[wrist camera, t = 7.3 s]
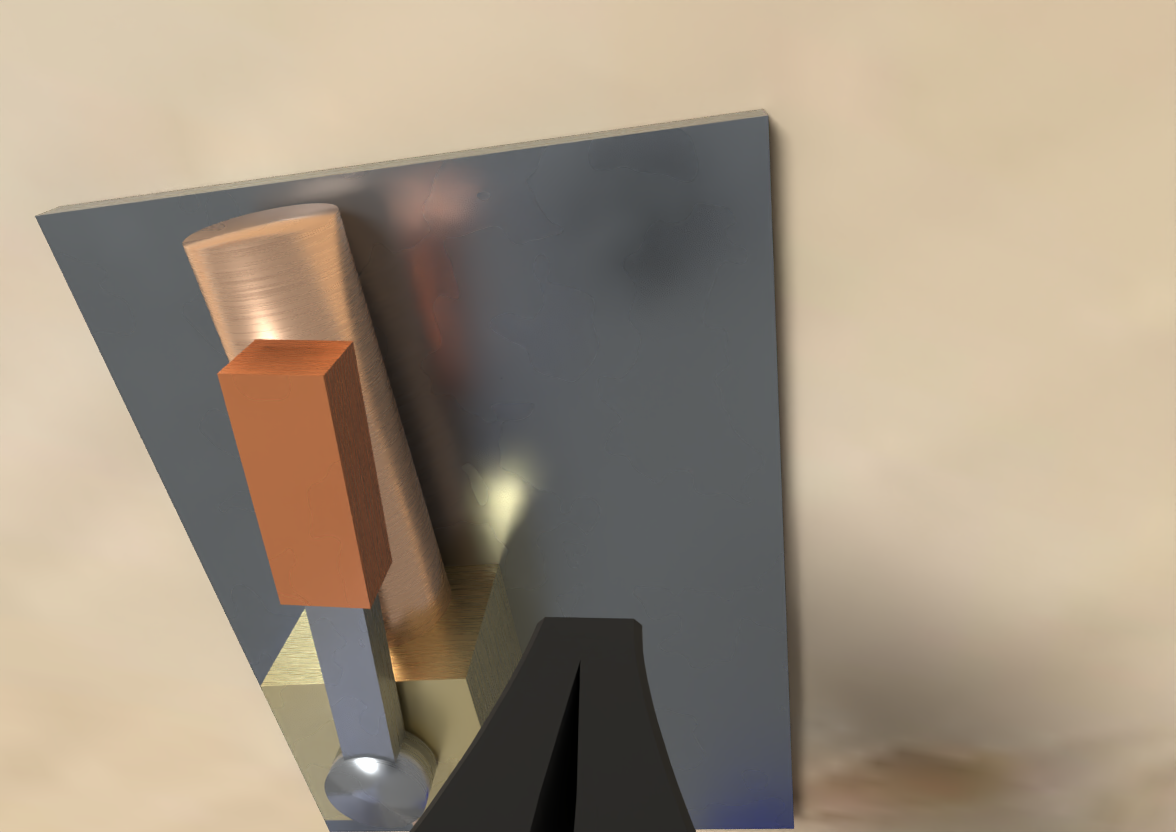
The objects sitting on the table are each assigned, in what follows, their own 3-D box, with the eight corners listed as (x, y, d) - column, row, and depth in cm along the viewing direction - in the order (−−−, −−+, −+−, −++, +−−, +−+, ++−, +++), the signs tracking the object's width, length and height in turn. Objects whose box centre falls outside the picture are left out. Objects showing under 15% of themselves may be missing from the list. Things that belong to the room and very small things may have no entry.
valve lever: (443, 786, 20) (429, 839, 19) (351, 780, 20) (330, 832, 19) (369, 341, 14) (341, 376, 13) (239, 338, 14) (199, 373, 13)
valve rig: (790, 805, 26) (813, 962, 22) (338, 811, 29) (281, 953, 25) (763, 108, 16) (797, 157, 12) (59, 206, 18) (-121, 276, 14)
